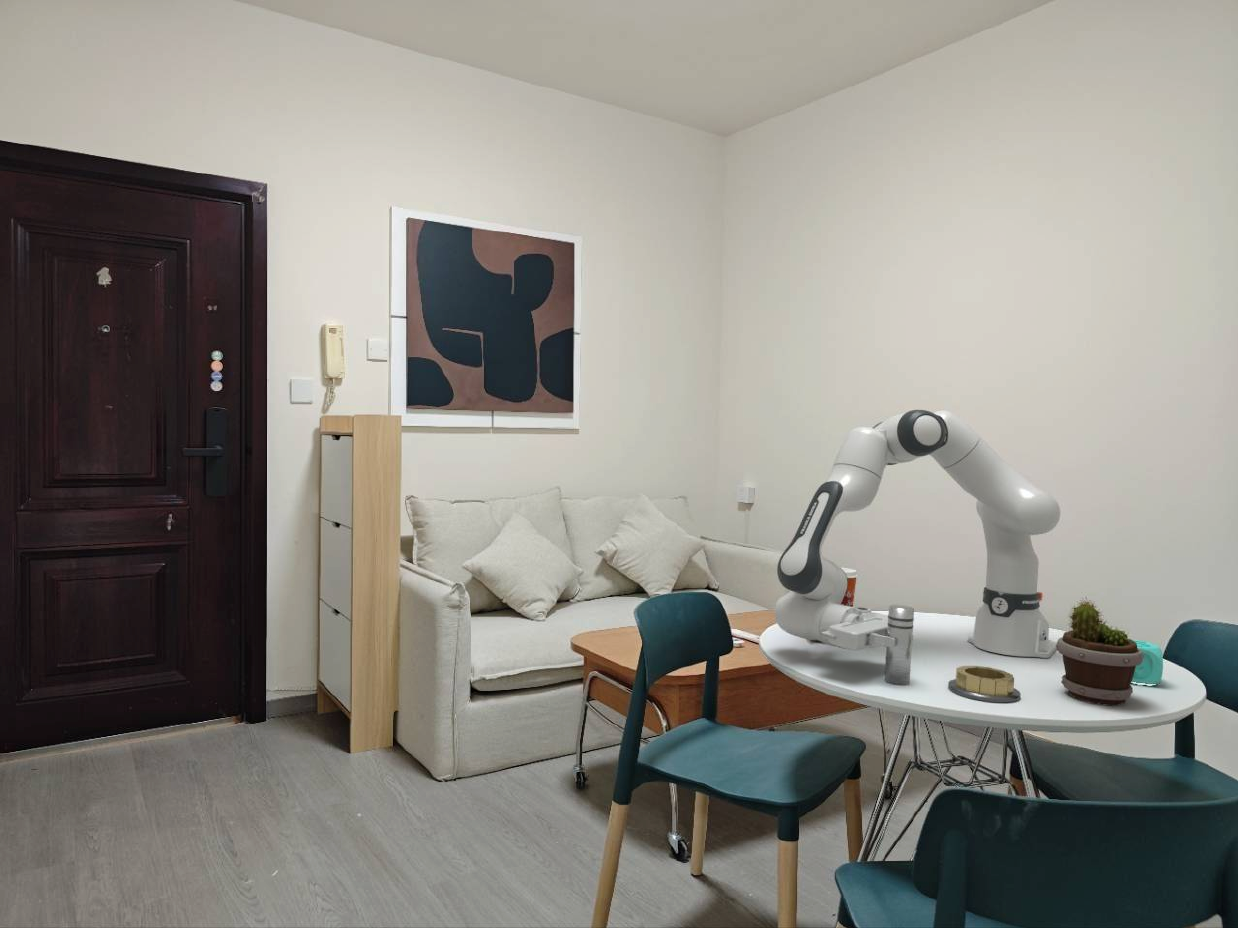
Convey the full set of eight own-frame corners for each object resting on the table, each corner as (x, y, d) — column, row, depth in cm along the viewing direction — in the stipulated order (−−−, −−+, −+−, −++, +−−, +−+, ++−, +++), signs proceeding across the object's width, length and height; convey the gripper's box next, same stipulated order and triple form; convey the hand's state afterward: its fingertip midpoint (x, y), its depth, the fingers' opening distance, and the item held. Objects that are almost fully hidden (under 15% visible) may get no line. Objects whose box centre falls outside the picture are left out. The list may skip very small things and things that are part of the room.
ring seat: (966, 678, 176) (967, 660, 176) (1031, 694, 167) (1032, 675, 167) (936, 689, 167) (937, 670, 167) (1003, 707, 158) (1004, 687, 158)
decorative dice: (1152, 678, 183) (1155, 641, 183) (1161, 688, 176) (1164, 650, 175) (1110, 673, 186) (1112, 637, 186) (1117, 683, 178) (1119, 645, 178)
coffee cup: (849, 633, 213) (852, 573, 212) (817, 627, 217) (820, 569, 216) (858, 627, 220) (862, 569, 219) (827, 622, 224) (830, 565, 224)
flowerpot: (1108, 686, 175) (1115, 590, 174) (1157, 711, 160) (1165, 605, 159) (1038, 684, 175) (1045, 587, 174) (1080, 708, 159) (1088, 602, 158)
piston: (892, 676, 175) (896, 604, 175) (914, 682, 172) (918, 608, 171) (879, 680, 172) (884, 606, 171) (902, 686, 168) (906, 611, 168)
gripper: (815, 617, 174) (877, 631, 164) (869, 606, 188) (928, 618, 178) (814, 648, 174) (875, 664, 164) (867, 635, 188) (926, 648, 178)
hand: (903, 640), depth 171 cm, fingers closed on piston, 5 cm apart
